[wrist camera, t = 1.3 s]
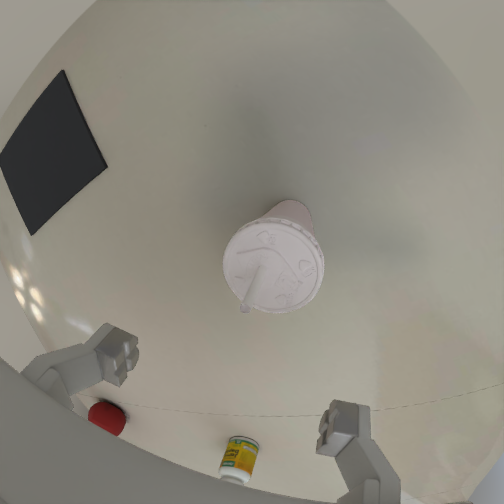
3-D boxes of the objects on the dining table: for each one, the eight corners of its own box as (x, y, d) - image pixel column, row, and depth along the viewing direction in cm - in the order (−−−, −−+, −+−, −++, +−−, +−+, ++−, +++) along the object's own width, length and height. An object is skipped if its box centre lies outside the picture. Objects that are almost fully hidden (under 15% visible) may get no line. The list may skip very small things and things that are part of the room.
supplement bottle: (246, 452, 47) (231, 495, 39) (223, 439, 47) (206, 483, 38) (266, 446, 45) (252, 493, 36) (242, 432, 44) (226, 480, 36)
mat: (63, 69, 25) (61, 69, 25) (107, 167, 29) (105, 167, 29) (-1, 158, 33) (-3, 159, 33) (32, 235, 37) (31, 236, 37)
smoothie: (275, 171, 26) (221, 229, 13) (340, 208, 26) (347, 298, 13) (244, 231, 29) (179, 323, 16) (304, 264, 29) (280, 376, 16)
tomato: (130, 409, 50) (113, 436, 44) (131, 426, 54) (116, 450, 48) (96, 390, 51) (78, 415, 45) (100, 408, 55) (84, 431, 48)
